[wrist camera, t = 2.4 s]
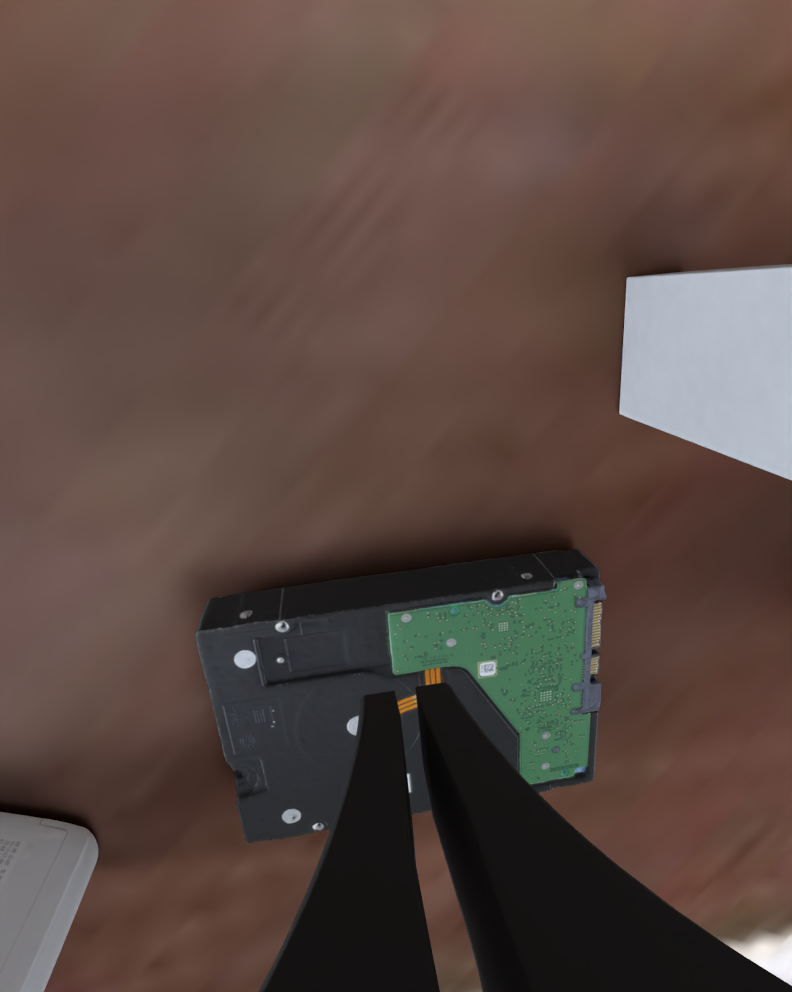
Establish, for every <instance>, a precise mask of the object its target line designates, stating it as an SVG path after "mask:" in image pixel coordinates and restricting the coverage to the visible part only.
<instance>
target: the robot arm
mask: <svg viewBox="0 0 792 992" xmlns="http://www.w3.org/2000/svg"><path fill="white" fill-rule="evenodd" d="M415 688H416V699H417V709H418V720H419V730H420V740H421V751H422V761H423V768H424V773H425V778H426V784H427V789H428V794H429V799H430V804H431V809H432V814H433V818H434V822H435V825H436V829H437V832H438V835H439V839H440V842H441V845H442V849H443V852H444V855H445V859H446V862H447V865H448V869H449V872H450V875H451V879H452V882H453V885H454V889H455V892H456V895H457V899H458V902H459V905H460V909H461V912H462V915H463V919H464V922H465V925H466V929H467V932H468V935H469V939H470V942H471V946H472V949H473V953H474V957H475V961H476V965H477V968H478V972H479V976H480V981H481V985H482V990H483V992H792V986H791V985H789V984H788V983H786V982H784V981H783V980H781V979H780V978H778V977H776V976H775V975H773V974H772V973H770V972H768V971H767V970H765V969H763V968H762V967H760V966H759V965H757V964H755V963H754V962H752V961H751V960H749V959H747V958H746V957H744V956H743V955H741V954H740V953H738V952H737V951H735V950H734V949H732V948H730V947H729V946H727V945H726V944H724V943H723V942H721V941H720V940H718V939H717V938H716V937H714V936H713V935H711V934H710V933H708V932H707V931H705V930H704V929H703V928H701V927H700V926H698V925H697V924H695V923H694V922H693V921H691V920H690V919H688V918H687V917H685V916H684V915H682V914H681V913H680V912H678V911H677V910H675V909H674V908H673V907H672V906H670V905H669V904H668V903H666V902H665V901H664V900H662V899H661V898H660V897H658V896H657V895H656V894H655V893H653V892H652V891H651V890H649V889H648V888H647V887H645V886H644V885H643V884H641V883H640V882H639V881H638V880H636V879H635V878H634V877H632V876H631V875H630V874H628V873H627V872H626V871H624V870H623V869H622V868H620V867H619V866H618V865H617V864H616V863H614V862H613V861H612V860H611V859H610V858H608V857H607V856H606V855H605V854H604V853H603V852H601V851H600V850H599V849H598V848H597V847H595V846H594V845H593V844H592V843H591V842H590V841H588V840H587V839H586V838H585V837H584V836H583V835H582V834H581V833H579V832H578V831H577V830H576V829H575V828H574V827H573V826H572V825H571V824H569V823H568V822H567V821H566V820H565V819H564V818H563V817H562V816H561V815H560V814H559V813H558V812H557V811H556V810H555V809H554V808H553V807H552V806H551V805H550V804H548V803H547V802H546V801H545V800H544V799H543V798H542V797H541V796H540V794H539V793H538V792H537V791H536V790H535V789H534V788H533V787H532V786H531V785H530V784H529V783H528V782H527V781H526V780H525V779H524V778H523V777H522V776H521V775H520V773H519V772H518V771H517V770H516V769H515V768H514V767H513V766H512V765H511V764H510V762H509V761H508V760H507V759H506V758H505V757H504V755H503V754H502V753H501V752H500V751H499V750H498V748H497V747H496V746H495V745H494V744H493V743H492V741H491V740H490V739H489V738H488V737H487V735H486V734H485V733H484V732H483V730H482V729H481V728H480V727H479V725H478V724H477V723H476V721H475V720H474V719H473V717H472V716H471V715H470V713H469V712H468V711H467V709H466V708H465V707H464V705H463V704H462V702H461V701H460V699H459V698H458V696H457V695H456V693H455V692H454V690H453V688H452V687H451V686H450V685H449V684H448V683H446V682H442V683H436V684H430V685H424V686H418V687H415ZM259 992H440V991H439V986H438V980H437V975H436V970H435V965H434V960H433V954H432V949H431V944H430V939H429V933H428V928H427V923H426V917H425V912H424V907H423V901H422V896H421V891H420V885H419V880H418V875H417V869H416V860H415V848H414V836H413V825H412V815H411V806H410V797H409V788H408V778H407V769H406V760H405V751H404V742H403V733H402V724H401V716H400V711H399V707H398V703H397V698H396V694H395V690H394V691H388V692H382V693H376V694H370V695H364V696H363V697H362V699H361V700H360V701H359V719H358V727H357V733H356V739H355V744H354V749H353V754H352V758H351V762H350V766H349V770H348V774H347V778H346V782H345V786H344V789H343V793H342V796H341V799H340V802H339V805H338V808H337V811H336V815H335V818H334V821H333V824H332V827H331V830H330V833H329V836H328V839H327V842H326V844H325V847H324V850H323V852H322V855H321V858H320V860H319V863H318V866H317V868H316V870H315V873H314V875H313V878H312V880H311V883H310V885H309V888H308V890H307V892H306V895H305V897H304V899H303V902H302V904H301V906H300V908H299V910H298V913H297V915H296V917H295V919H294V922H293V924H292V926H291V928H290V930H289V933H288V935H287V937H286V939H285V941H284V943H283V945H282V947H281V949H280V951H279V954H278V956H277V958H276V960H275V962H274V964H273V966H272V968H271V969H270V971H269V973H268V975H267V977H266V979H265V981H264V983H263V984H262V986H261V988H260V990H259Z"/></svg>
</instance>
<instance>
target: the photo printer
mask: <svg viewBox="0 0 792 992" xmlns="http://www.w3.org/2000/svg"><path fill="white" fill-rule="evenodd" d="M97 858H98V845H97V842H96V839H95V837H94V836H93V834H92V833H91V832H90V831H89V830H88V829H86V828H84V827H81V826H77V825H74V824H70V823H66V822H61V821H56V820H51V819H44V818H38V817H32V816H25V815H18V814H12V813H5V812H0V992H44V990H45V987H46V985H47V983H48V980H49V978H50V975H51V973H52V970H53V968H54V965H55V963H56V960H57V958H58V956H59V953H60V951H61V948H62V946H63V943H64V941H65V938H66V936H67V934H68V931H69V929H70V926H71V924H72V921H73V919H74V916H75V914H76V912H77V909H78V907H79V904H80V902H81V899H82V897H83V894H84V892H85V889H86V887H87V884H88V882H89V879H90V877H91V874H92V872H93V869H94V867H95V864H96V862H97Z"/></svg>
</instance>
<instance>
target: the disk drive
mask: <svg viewBox="0 0 792 992" xmlns="http://www.w3.org/2000/svg"><path fill="white" fill-rule="evenodd" d="M599 579H600V572H599V568H598V567H597V566H596V565H595V564H594V563H593V562H592V561H591V560H590V559H588V558H587V557H586V556H585V555H584V554H583V553H582V552H581V551H579V550H577V549H572V550H569V551H561V550H554V551H546V552H539V553H531V554H524V555H518V556H510V557H502V558H495V559H487V560H479V561H472V562H464V563H455V564H449V565H443V566H435V567H429V568H424V569H416V570H407V571H400V572H392V573H385V574H376V575H370V576H363V577H355V578H349V579H339V580H332V581H327V582H319V583H310V584H305V585H296V586H290V587H282V588H275V589H269V590H261V591H255V592H247V593H242V594H236V595H228V596H224V597H222V598H218V597H215V598H211V599H209V600H208V601H207V605H206V607H205V610H204V612H203V614H202V617H201V620H200V623H199V625H198V628H197V631H196V634H195V637H196V643H197V648H198V651H199V654H200V659H201V663H202V666H203V668H204V674H205V679H206V681H207V683H208V689H209V692H210V698H211V700H212V706H213V711H214V714H215V718H216V724H217V726H218V730H219V736H220V738H221V743H222V748H223V753H224V757H225V760H226V762H228V764H230V766H231V768H232V770H233V771H234V772H235V783H236V792H237V803H236V805H237V808H238V812H239V815H240V820H241V824H242V828H243V832H244V837H245V840H246V842H248V843H253V842H256V841H262V840H273V839H284V838H288V837H293V836H300V835H305V834H310V833H313V832H314V831H315V830H328V829H331V827H332V824H333V821H334V818H335V815H336V811H337V808H338V805H339V802H340V799H341V796H342V793H343V789H344V786H345V782H346V778H347V774H348V770H349V766H350V762H351V758H352V754H353V749H354V744H355V739H356V733H357V727H358V719H359V701H360V700H361V699H362V697H363V696H364V695H370V694H376V693H382V692H388V691H394V690H395V694H396V698H397V703H398V707H399V711H400V716H401V724H402V733H403V742H404V751H405V760H406V769H407V778H408V788H409V797H410V806H411V814H414V813H422V812H425V811H432V809H431V804H430V799H429V794H428V789H427V784H426V778H425V773H424V768H423V761H422V751H421V740H420V730H419V720H418V709H417V699H416V688H415V687H418V686H424V685H430V684H436V683H442V682H446V683H448V684H449V685H450V686H451V687H452V688H453V690H454V692H455V693H456V695H457V696H458V698H459V699H460V701H461V702H462V704H463V705H464V707H465V708H466V709H467V711H468V712H469V713H470V715H471V716H472V717H473V719H474V720H475V721H476V723H477V724H478V725H479V727H480V728H481V729H482V730H483V732H484V733H485V734H486V735H487V737H488V738H489V739H490V740H491V741H492V743H493V744H494V745H495V746H496V747H497V748H498V750H499V751H500V752H501V753H502V754H503V755H504V757H505V758H506V759H507V760H508V761H509V762H510V764H511V765H512V766H513V767H514V768H515V769H516V770H517V771H518V772H519V773H520V775H521V776H522V777H523V778H524V779H525V780H526V781H527V782H528V783H529V784H530V785H531V786H532V787H533V788H534V789H535V790H536V791H537V792H544V791H547V790H551V789H552V788H556V787H558V786H559V787H564V786H572V785H576V784H580V783H586V782H590V781H593V778H594V767H595V752H596V739H597V725H598V712H597V710H599V708H600V702H601V701H600V697H601V695H600V694H601V683H599V682H597V679H596V675H595V674H596V673H598V671H599V656H600V653H599V652H597V651H596V649H598V648H600V647H601V644H600V638H601V618H602V602H601V601H599V600H600V599H606V593H605V592H604V587H605V586H604V585H603V584H602V583H601V582H600V581H599Z"/></svg>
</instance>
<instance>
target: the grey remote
mask: <svg viewBox="0 0 792 992" xmlns="http://www.w3.org/2000/svg"><path fill="white" fill-rule="evenodd" d="M619 414H620V415H623V416H626V417H628V418H631V419H633V420H636V421H639V422H641V423H644V424H646V425H649V426H652V427H654V428H657V429H659V430H662V431H665V432H667V433H670V434H672V435H675V436H678V437H680V438H683V439H685V440H688V441H691V442H693V443H696V444H698V445H701V446H704V447H706V448H709V449H711V450H714V451H716V452H719V453H722V454H724V455H727V456H729V457H732V458H735V459H737V460H740V461H742V462H745V463H748V464H750V465H753V466H755V467H758V468H761V469H763V470H766V471H768V472H771V473H774V474H776V475H779V476H781V477H784V478H787V479H789V480H792V264H783V265H769V266H755V267H741V268H727V269H713V270H699V271H685V272H675V273H665V274H655V275H644V276H634V277H628V278H627V284H626V302H625V319H624V337H623V355H622V373H621V391H620V408H619Z"/></svg>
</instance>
